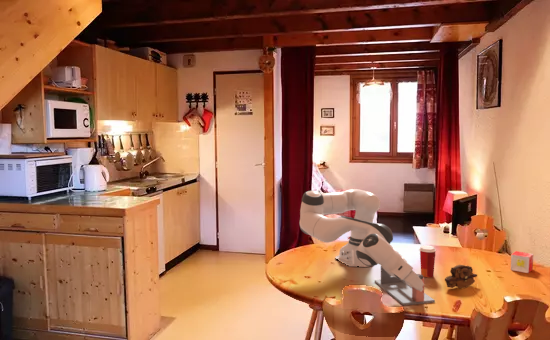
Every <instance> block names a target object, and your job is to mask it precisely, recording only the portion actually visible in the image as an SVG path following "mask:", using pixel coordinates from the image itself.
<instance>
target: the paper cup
mask: <svg viewBox="0 0 550 340" xmlns="http://www.w3.org/2000/svg"><path fill="white" fill-rule="evenodd" d="M418 251H419V255H420V256H419V257H420V258H419V259H420V274H421V275H423V278H433V277H434V273H435V272H434V271H435V261H436V252H437V250H436V248H435V246H433V245H432V246H431V245H421V246H420V247H419V249H418Z"/></svg>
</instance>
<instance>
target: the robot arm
mask: <svg viewBox="0 0 550 340" xmlns="http://www.w3.org/2000/svg"><path fill="white" fill-rule="evenodd" d="M380 208H381V199H380V198H379V196H378V195H376V193H375V194H374V192H370V191H367V190H364V189H359V188H352V189H347V190H342V191H333V192H323V193H321V192H319V191H317V190H308V191H305V192H304V193H303V195H302V197H301V204H300V209H299V211H300V212H299V215H300V217H299V228H300V231H301V232H302V233H304V234H306V235H309V236H310V237H312V238H314V239H316V240H318V241H320V242H323V243H326V244H327V243H331V242H335V241H336V240H338V239H340V237H342V236H343V235H345V234H346V233H348V232H350V236H346V238H347V240H348V242H347V243H346V244H345V245H343V246H342V247H340V249H339V254H338V255H336V256H335V257H334V259H335V258H336V259H338V260H339V261H341V262H343V263H345V264H346V266H347V265H349V266H348V267H357V266H359V268H366V267H367V268H368V267H372V266H374V267H375V266H377V265H380V267H381V266H382V268H383V269H384V270H385V271H386V272H387V273H388V274H389V275H390V276H394V277H397V278H399V279H401V280H404V281H405V282H407V283H408V284H410V285H411V286H412V287H414V288H415V289H416V290H419V291H420V292H422V290H423V286H424V287H425V282H424V283H423V281H422V280H421V279H420V278H419V277H418V275H417V273H416V272H415V271H414V270H413V269H414V268H413V267H412V265H410V264H409V263H408V261H407V260H406V259H405V258H404V257H403V255H401V254H400V253H399V252H398V251H396V250H395V249H394V248H393V246H392V245H391V243H392V242H393V241H394V234H393V232H392V229H391V228H390V227H389V226H388V225H386V224H384V223H377V222H374V219H375V215H376V213H377V212H379V209H380ZM349 211H355V214H354V217H349V216H346V215H345V216H344V215H340V216H338V217H330V216H329V217H328V216H326V215H335V214H344V213H345V212H349ZM336 259H335V260H336ZM339 261H338V262H339ZM341 262H340V263H341ZM343 263H342V264H343ZM345 264H344V265H345Z"/></svg>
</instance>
